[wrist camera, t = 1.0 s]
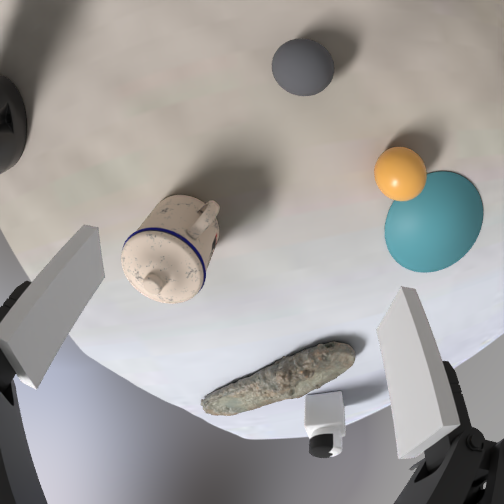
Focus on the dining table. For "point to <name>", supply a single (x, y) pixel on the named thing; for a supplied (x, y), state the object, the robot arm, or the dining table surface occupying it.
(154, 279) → the teacup with lid
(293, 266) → the dining table surface
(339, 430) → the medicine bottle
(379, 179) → the object ball
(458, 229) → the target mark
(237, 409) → the long grey stone
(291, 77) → the dark grey ball
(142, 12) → the dining table surface
